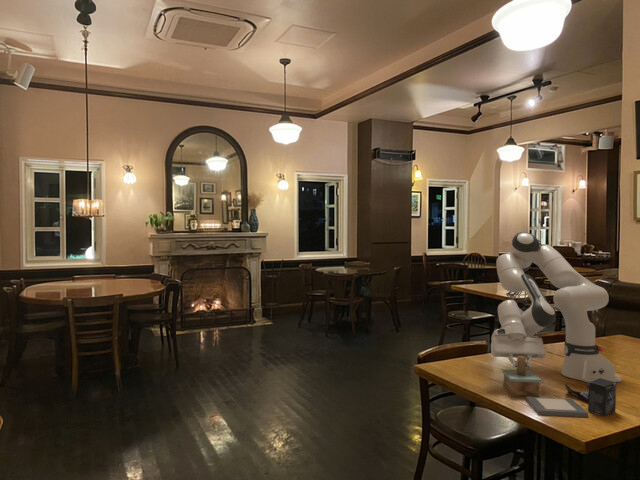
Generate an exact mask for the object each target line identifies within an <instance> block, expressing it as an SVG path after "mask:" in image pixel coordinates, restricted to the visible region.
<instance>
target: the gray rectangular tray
mask: <svg viewBox="0 0 640 480" xmlns="http://www.w3.org/2000/svg"><path fill="white" fill-rule="evenodd" d="M525 402H526V403H527V404H528V405H529V406H530V407H531V408H532V409H533V410H534V411H535V413H536V414H537V415H538V416H552V417H554V416H556V417H577V418H578V417H579V418H589V411H588V410H585V409H584V408H583V407H582V406H581V405H579V403H577V402H576V400H574V399H572V398H569V397H567V398H566V397H543V396H542V397H525Z"/></svg>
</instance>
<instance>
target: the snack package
mask: <svg viewBox="0 0 640 480" xmlns="http://www.w3.org/2000/svg"><path fill="white" fill-rule="evenodd" d="M584 385H585V386H586V389H587V391H588V392H581V391H578V390H577V391H576V390H573V389H571V388H570V387H569V385H567V384H566V383H565V384H564V386H565V389H566V391H567V393H568V394H572V395H573V396H575V397H577V398H578V399H581V400H585V401H588V400H589V384H587V382H585V383H584Z"/></svg>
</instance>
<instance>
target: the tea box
mask: <svg viewBox="0 0 640 480" xmlns="http://www.w3.org/2000/svg"><path fill="white" fill-rule="evenodd" d="M502 385H503V389H504V390H505V391H506V392H507V393H508V395H509V396H510V397H511V398H526V397H540V382H515V381H510V380H509V379H508V378H507V377H506V376H505V374H504V373H503V384H502Z"/></svg>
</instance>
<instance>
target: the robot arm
mask: <svg viewBox="0 0 640 480" xmlns="http://www.w3.org/2000/svg"><path fill="white" fill-rule="evenodd" d="M495 264H496V272H497V276H498V280H499V283H500V285H501V287H502V288H503V289H504V290H506V292H512V293H514V292H515V293H516V292H519V293H520V292H525V291H526V294H528V296H529V297H528V296H527V297H528V298H529V299H531V300H530V302H531V301H532V304H531V303H530V304H531V305H530V306H529V307H528V308H526V309H525V310H522V308H520V307H519V305H518V303H517V301H516V300H515V299H514V300H513V299H511V300H509V299H507V300H503V301H502V302H500V303H499V304H498V306H497V315H498V322H499V323H500V325H501V326H500V328H498V329H494V330H493V332H492V335H491V343H490V353H491V356H493V357H494V358H507V359H508V361H509V362H511V364H512V367H513V368H517V366H518V362H517V360H515V358H517V356H525V357H526V360H527V361H526V368H531V366H532V365H531V360H532V359H543V358H544V357H546V355H547V350H546V348H545V345H544V341H543V338H542V339H541V338H540V336H539V337H538V335H537V334H538V333H537V332H539V333H540V330H541V331H543V329H545V328H547V327H548V326H550V325H552V324H554V323H555V322H556V317H557V316H556V314H557V313H556V310H555V309H554V308H553V307H554V306H555V307H556V308H557V309H558V310H559V312H561V315H562V317H563V320H564V324H565V341H564V345H563V346H564V347H563V351H564V352H563V353H564V359H563V364H562V368H561V371H560V374H562V375H563V376H564V377H567V378H571V379H573V380H579V381H582V382H585V383H589V382H590V381H594V380H596V379H599V378H602V379H605V380H609V381H613V382H616V383H622V381H623V380H622V377H621V376H620V375H619V374H617V373H616V369H615V366H614V364H613V363H612V361H610V360H609V359H608V358H606V357H605V356H604V355H603V354H601V353H604V352H605V350H606V349H605V347H603V346H601V345H600V346H599V345H598V344H597V343H596V326H595V323H592V322H591V321H590V319H589V316H588V312H589V311H591V312H592V311H597V310H600V309H602V308H605V307H606V306H608V304H609V300H610V299H609V297H610V295H609V293H608V291H607V290H606V289H605V288H604V287H602V286H600V285H597V284H595V283H593V282H592V281H590V280H588V278H586V277H584V276H583V275H581V274H580V273H579V272H578V271H576V270H575V268H574V267H572V265H571V264H570V263H569V262H568V261H567V260H566V259H565V257H564V256H563V255H562V254H561V253H560V252H559V251H558V250H556V249H555V248H554V247H552V246H551V245H549V244H547V245H546V244H543V245H542V243H541V240H539V239H538V238H537V237H536V236H535V235H534V234H532V233H530V232H527V231H521V232H520V231H519V232H517V233H516V234H515V235H514V237H513V238H512V240H511V244H510V248H509V253H503V254H501V255H499V256H498V257H497V258H496V262H495ZM532 264H535V265H536V266H538V268H539V269H540V271H541V272H542V273H543V275H545V277H546V279H548V280H549V282H550V284H551V285H553V286H554V287H555V288H558V289H557V290H556V291H555V292H554V294H553V303H554V306H552V305H551V304H550V303H549V301H548V300H547V297H546V296H545V295H544V294H543V292H542V290H541V288H540V287H539V285H538V283H537V282H536V280H535V279H534V278H533V277H532V276H531V275H530V274H527V273H525V272H526V271H529V269H530V267H532ZM516 294H517V293H516ZM545 297H546V298H545ZM535 334H536V336H535ZM600 352H601V353H600Z"/></svg>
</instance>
